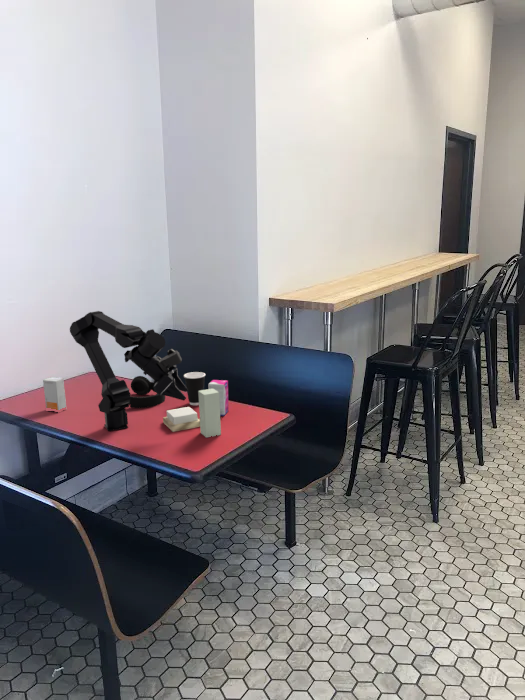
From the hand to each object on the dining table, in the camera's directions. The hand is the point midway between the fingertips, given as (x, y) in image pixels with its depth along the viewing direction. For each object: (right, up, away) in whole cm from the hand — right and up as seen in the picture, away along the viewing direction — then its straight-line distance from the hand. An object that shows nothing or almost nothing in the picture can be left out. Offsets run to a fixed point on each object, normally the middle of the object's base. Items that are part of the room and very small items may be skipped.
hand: (185, 394), depth 182 cm
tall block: (+7, -13, +3) cm, 15 cm away
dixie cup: (-1, -6, +34) cm, 35 cm away
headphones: (-22, -6, +40) cm, 46 cm away
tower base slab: (-3, -11, +13) cm, 17 cm away
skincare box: (-51, -8, +31) cm, 60 cm away
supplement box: (+9, -8, +23) cm, 26 cm away
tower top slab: (-3, -9, +12) cm, 15 cm away
